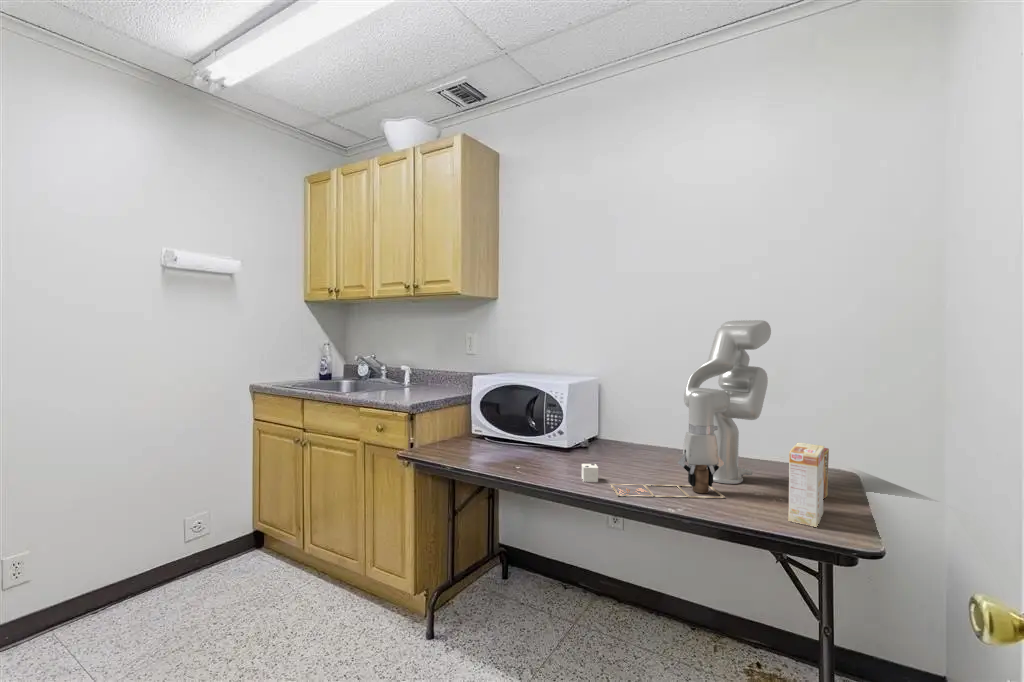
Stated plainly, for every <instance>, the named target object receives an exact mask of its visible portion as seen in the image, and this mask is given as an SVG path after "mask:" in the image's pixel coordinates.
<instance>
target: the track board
mask: <svg viewBox="0 0 1024 682" xmlns="http://www.w3.org/2000/svg"><path fill="white" fill-rule="evenodd" d="M610 485H611V486H610ZM613 485H643V486H644V487H645V488H646V489H647V490H648V491H649V493H650V494H651V495H629V494H626V495H622V494H624V493H626V492H624V491H623V490H621V489H619V488H618V489H619V490H620V491H619V493H618V492H617V490H616V489H615V487H614V486H613ZM646 485H648V486H646ZM651 485H652V484H645V483H644V484H643V483H642V484H638V483H633V484H631V483H630V484H629V483H610V484H609V486H610V487H611V489H612V488H613V489H612V490H614V491H615V492H614V491H613V492H614V494H615V493H616V494H615V496H616V495H617V496H649V497H652V496H653V497H688V498H687V499H705V498H726V499H727V497H726V496H725V495H723V494H722V493H721V492H719V490H717V489H716V488H715V487H713V486H712V487H710V486H709V488H710V489H711V490H712V492H714V493H715V494H717V496H712V495H711V496H705V495H703V496H702V495H701V496H699V495H689V493H688V492H686V491H685V490H684V488H693V487H692V486H691V485H690V484H685V485H684V484H653V485H654V486H677V487H678V488H679V489H680V490H681V491H682V492H683V493H684V494H685V495H686V496H685V495H684V494H683V493H682V492H681V491H680V490H679V489H678V488H677V487H676V488H677V489H678V490H679V491H680V492H681V493H682V494H683V495H657V494H656V495H655V494H654V493H653V492H652V491H651V490H650V488H649V487H652V486H651ZM679 486H682V487H679ZM682 488H683V489H682ZM638 489H639V490H638ZM638 489H636V490H637V491H641V492H644V491H645V492H648V491H646V490H644V489H642V488H638ZM621 491H622V492H624V493H622V492H621ZM626 491H627V493H629V492H630V490H629V489H627V488H626ZM628 491H629V492H628ZM637 491H635V492H637ZM620 493H622V494H620ZM633 493H634V492H633ZM637 493H638V492H637ZM619 494H620V495H619ZM638 494H640V493H638ZM719 495H720V496H719ZM617 496H616V497H617ZM649 497H648V498H649Z"/></svg>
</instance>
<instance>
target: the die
mask: <svg viewBox="0 0 1024 682" xmlns="http://www.w3.org/2000/svg"><path fill="white" fill-rule="evenodd" d="M582 479H583V480H582ZM581 480H582V482H583V483H599V466H598V465H597V464H596V463H581ZM584 481H585V482H584ZM586 481H587V482H586Z"/></svg>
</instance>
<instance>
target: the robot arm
mask: <svg viewBox="0 0 1024 682" xmlns="http://www.w3.org/2000/svg"><path fill="white" fill-rule="evenodd" d="M771 335H772V328H771V325H770V323H769V322H768V321H766V320H764V319H763V320H761V319H759V320H758V319H757V320H756V319H755V320H751V319H750V320H747V319H745V320H742V319H741V320H730V321H725V322H723V323H722V324H721V325H720V327H719V328H718V329H717V330H716V332H715V335H714V336H713V337H714V339H713V341H712V345H711V348H710V352H709V355H708V359H707V360H706V361H705V362H703V363H702V364H700V366H698V367H697V368H696V369H695V370H694V371H693V372H692V373H691V374H690V376H689V378H688V380H687V382H686V385H685V388H684V394H683V403H684V405H685V406H686V408H688V432H687V431H686V432H685V436H684V440H683V441H684V442H683V450H682V456H681V457H680V459H679V460H678V461H677V464H678V465H679V466H681V467H682V468H683V469H684V470H685V471H687V473H688V475H687V480H688V483H689V485H691V486H692V487H691V488H693V487H695V474H694V469H695V466H696V465H707V468H706V469H708V470H709V486H710V487H713V484H714V483H719V484H726V485H727V484H728V485H737V484H738V485H739V484H741V483H743V482H744V481H743V480H744V478H743V476H744V475H745V476H752V475H753V470H752V469H745V468H744V467H743V468H741V467H740V466H739V445H740V444H739V439H740V438H739V437H740V436H739V435H740V432H739V428H738V425H737V424H736V422H735V421H734V420H733V419H737V420H745V421H756V420H757V419H759V417H760V415H761V414H762V410H763V407H764V406H763V405H764V402H765V398H766V393H767V390H768V379H769V378H768V373H767V372H766V370H765V369H764V368H762V367H760V366H751V365H749V364H750V355H749V354H748V351H749V350H751V351H752V350H757V349H759V348H761V347H762V346H764V345H765V344H766V343H768V341H769V340H770V338H771ZM747 350H748V351H747ZM715 377H718V382H717V383H718V386H719V388H720V389H718V388H717V389H716V388H707V387H701V386H702V384H703V383H704V382H706V381H708V380H709V379H712V378H715ZM685 462H686V463H687V464H686V463H685Z"/></svg>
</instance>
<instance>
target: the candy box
mask: <svg viewBox="0 0 1024 682" xmlns="http://www.w3.org/2000/svg"><path fill="white" fill-rule="evenodd" d="M829 451H830V449H829V448H828V447H824V493H823V499H824V498H825V499H826V497H828V485H829V484H828V481H829V480H828V479H829V457H830V455H829V454H830V453H829ZM825 499H824V500H825Z"/></svg>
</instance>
